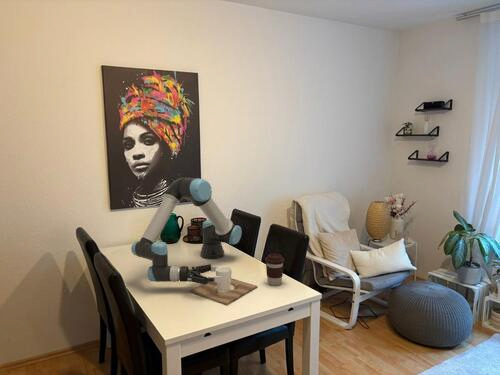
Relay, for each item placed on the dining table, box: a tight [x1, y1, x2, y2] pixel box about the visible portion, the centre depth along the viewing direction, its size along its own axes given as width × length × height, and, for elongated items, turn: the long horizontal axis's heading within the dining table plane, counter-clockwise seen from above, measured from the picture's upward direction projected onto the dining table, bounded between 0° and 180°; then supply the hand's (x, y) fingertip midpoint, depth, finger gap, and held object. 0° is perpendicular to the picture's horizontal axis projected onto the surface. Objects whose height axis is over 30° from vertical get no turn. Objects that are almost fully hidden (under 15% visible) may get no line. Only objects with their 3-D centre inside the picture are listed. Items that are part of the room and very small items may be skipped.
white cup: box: [215, 265, 232, 291], centre depth 186 cm, size 8×8×10 cm
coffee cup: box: [264, 253, 285, 287], centre depth 194 cm, size 10×10×15 cm
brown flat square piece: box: [189, 277, 258, 306], centre depth 187 cm, size 24×24×3 cm
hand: (222, 273), depth 185 cm, fingers open, 13 cm apart
